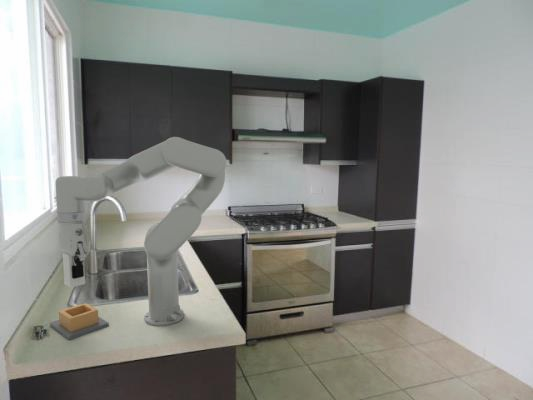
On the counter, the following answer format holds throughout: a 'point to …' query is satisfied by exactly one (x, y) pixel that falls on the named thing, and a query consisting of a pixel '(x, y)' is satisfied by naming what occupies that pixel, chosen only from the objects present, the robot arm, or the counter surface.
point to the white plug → (68, 272)
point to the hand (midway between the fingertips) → (74, 275)
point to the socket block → (78, 321)
